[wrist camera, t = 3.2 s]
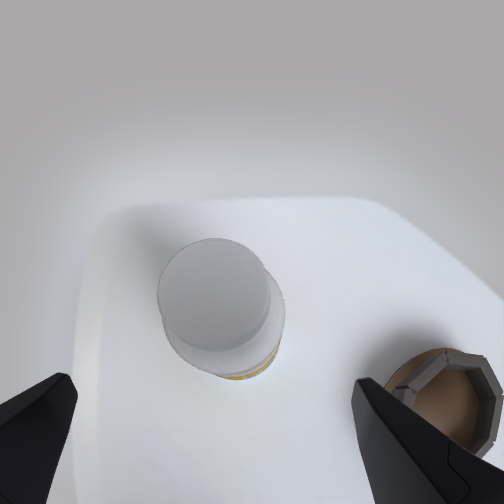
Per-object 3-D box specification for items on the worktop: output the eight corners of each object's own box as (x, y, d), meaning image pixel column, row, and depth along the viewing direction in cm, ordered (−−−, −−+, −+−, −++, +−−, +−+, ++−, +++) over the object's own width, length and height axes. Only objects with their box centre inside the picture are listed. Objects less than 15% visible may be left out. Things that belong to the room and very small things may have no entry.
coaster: (408, 509, 12) (425, 519, 10) (344, 408, 16) (356, 410, 14) (501, 418, 14) (522, 416, 12) (449, 323, 18) (468, 312, 16)
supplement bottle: (206, 293, 20) (163, 212, 12) (285, 307, 20) (300, 231, 11) (187, 370, 18) (119, 344, 9) (271, 387, 17) (275, 382, 9)
